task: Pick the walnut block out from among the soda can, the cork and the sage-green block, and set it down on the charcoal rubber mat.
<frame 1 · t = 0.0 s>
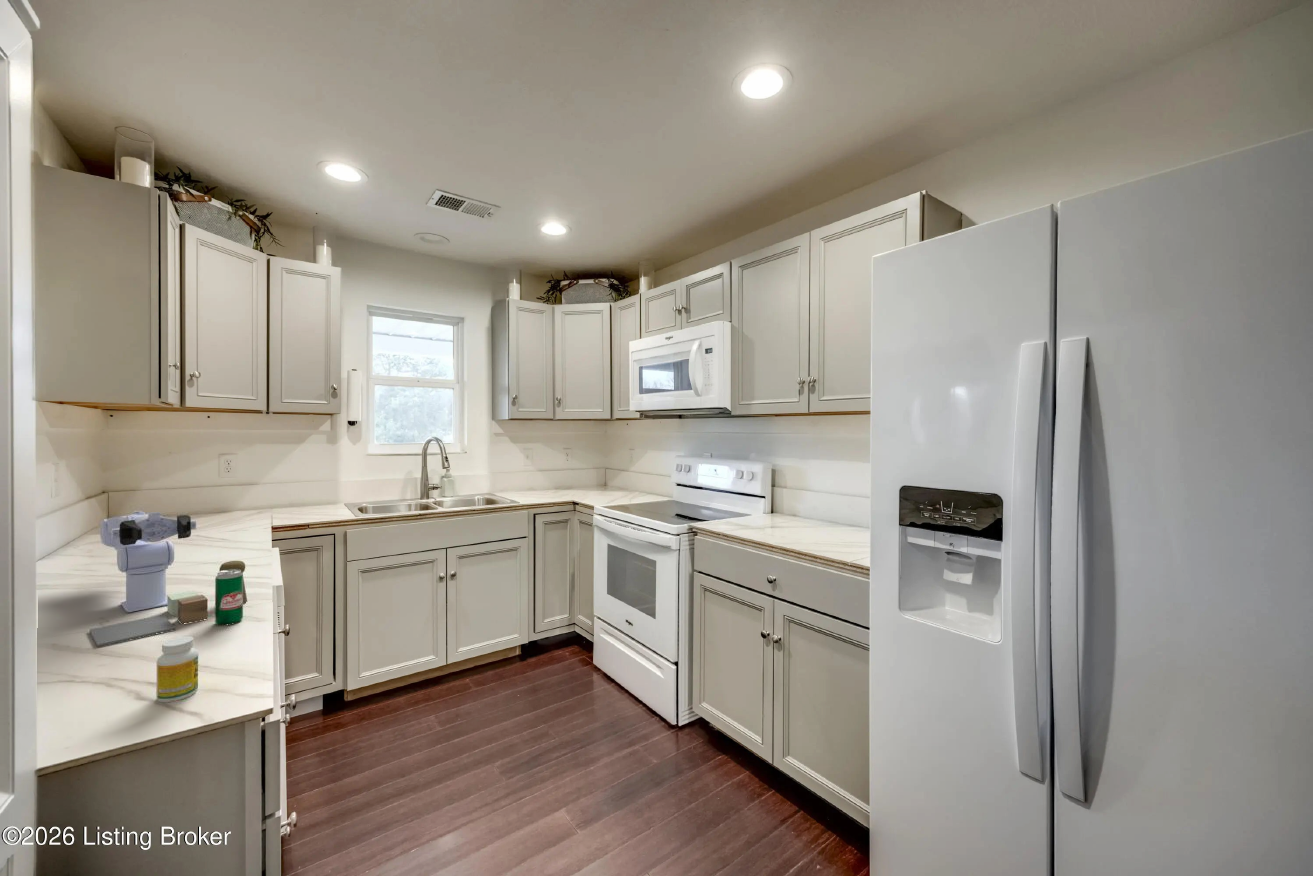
hand: (163, 531, 120), 22 cm above the counter, tool horizontal, fingers open, 7 cm apart
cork: (232, 604, 134), on the counter
walnut block: (192, 619, 124), on the counter
soda can: (229, 622, 123), on the counter
supplement bottle: (177, 696, 91), on the counter
sage block: (183, 611, 129), on the counter
mat: (132, 631, 116), on the counter
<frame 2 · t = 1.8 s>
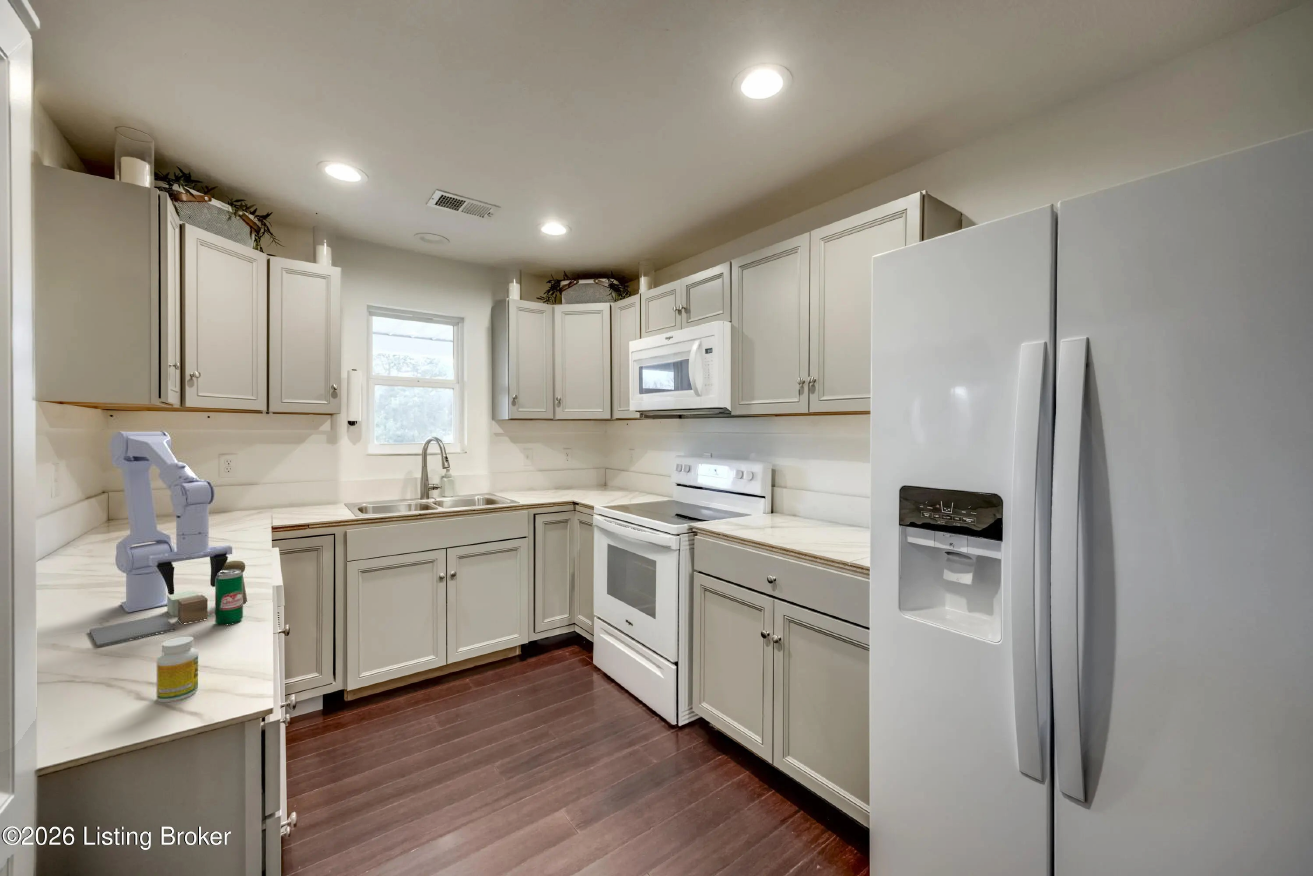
hand: (192, 589, 123), 7 cm above the counter, tool pointing down, fingers open, 7 cm apart
nothing on the counter moved.
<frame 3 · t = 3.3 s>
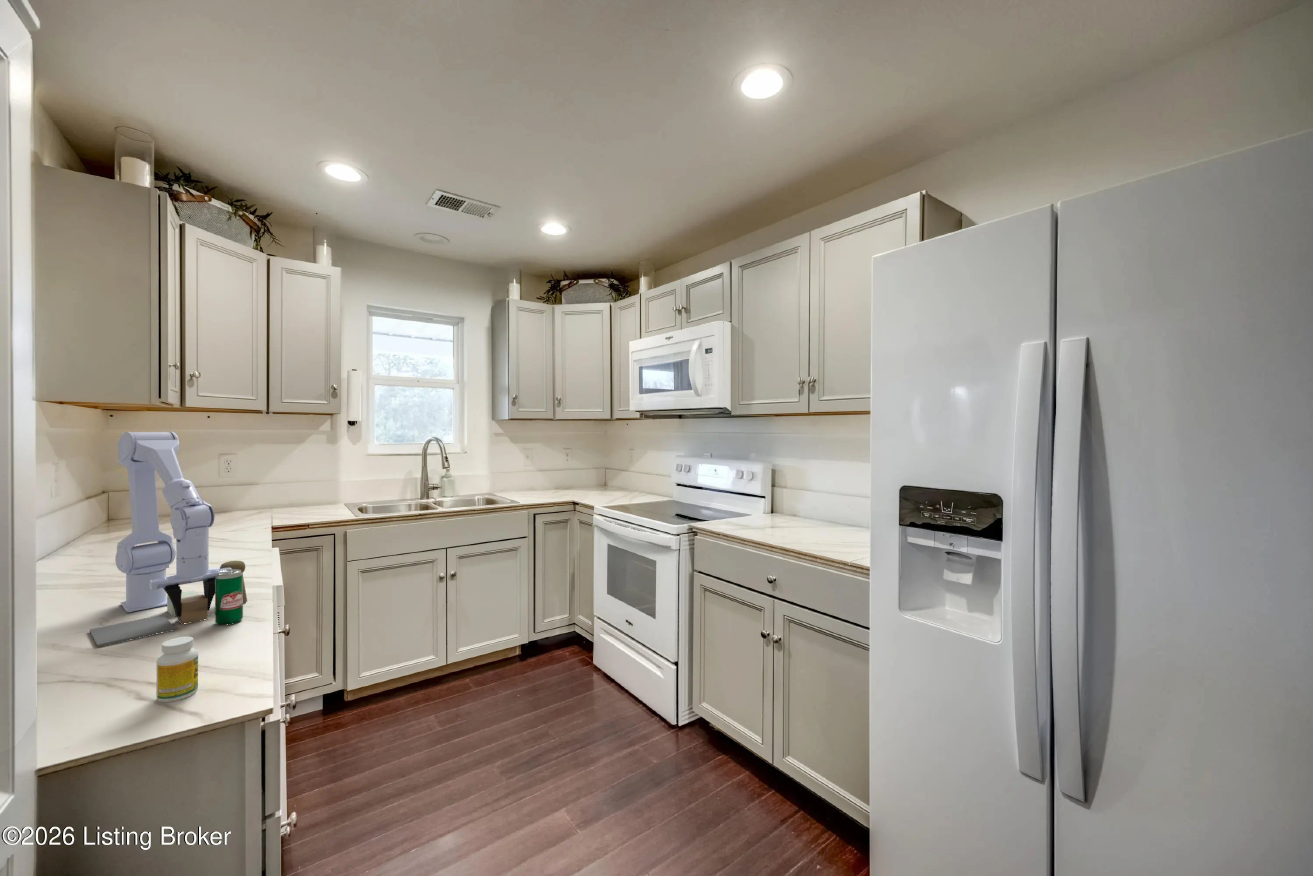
hand: (192, 612, 124), 2 cm above the counter, tool pointing down, fingers closed on walnut block, 4 cm apart
walnut block: (192, 619, 124), on the counter, touching gripper
everything else where it was.
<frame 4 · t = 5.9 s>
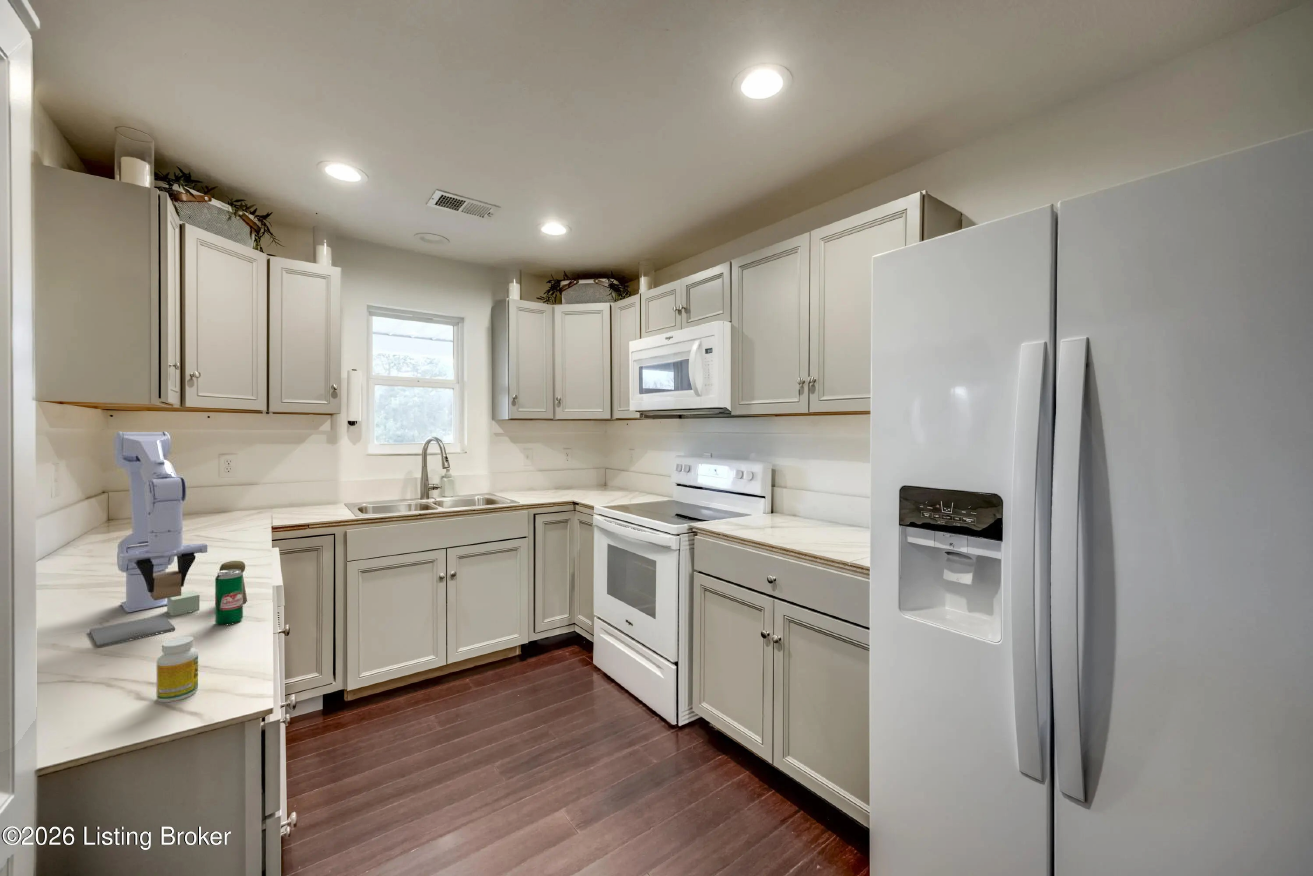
hand: (165, 588, 120), 8 cm above the counter, tool pointing down, fingers closed on walnut block, 4 cm apart
walnut block: (165, 595, 120), point 7 cm above the counter, touching gripper
everything else where it was.
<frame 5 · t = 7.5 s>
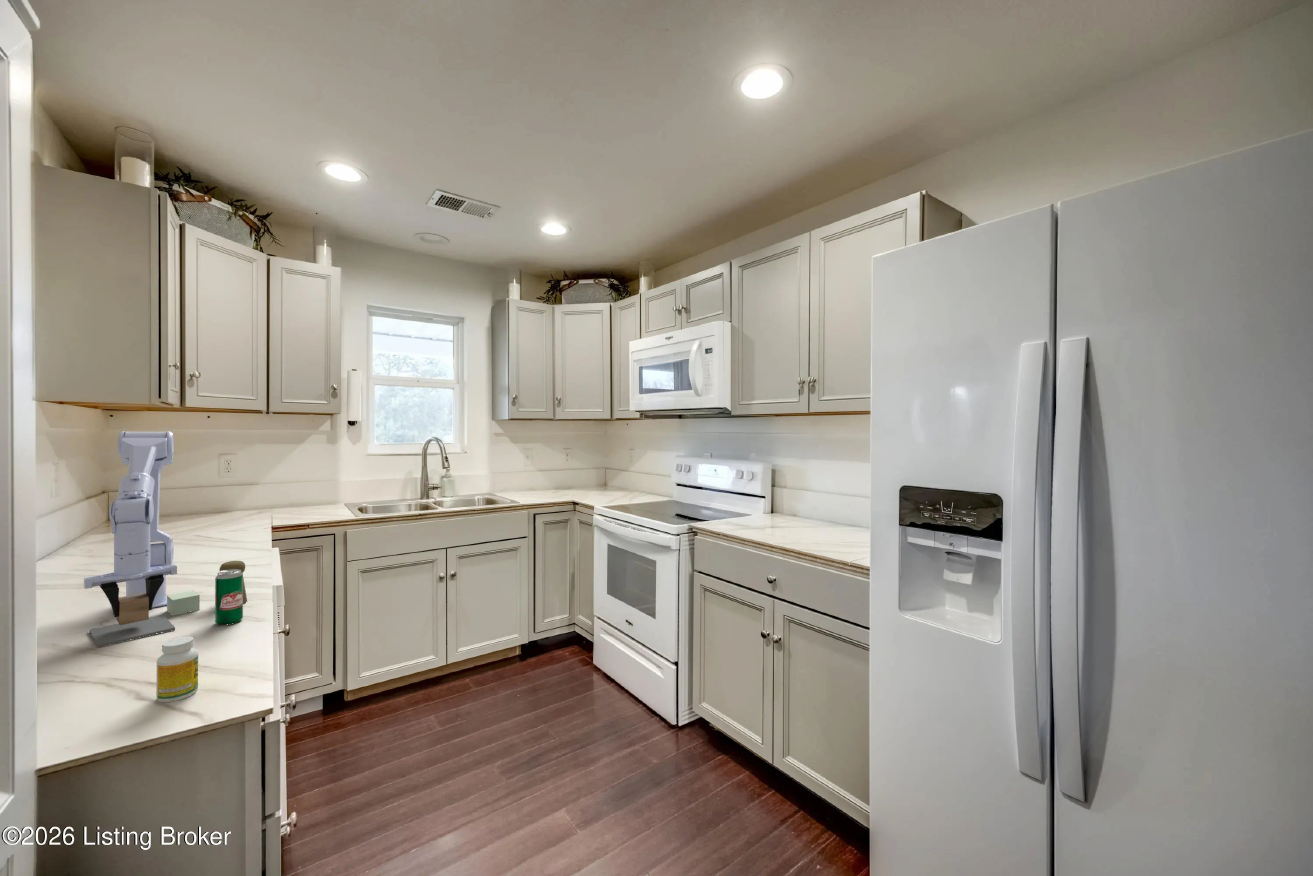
hand: (132, 612, 116), 4 cm above the counter, tool pointing down, fingers closed on walnut block, 4 cm apart
walnut block: (132, 619, 116), point 3 cm above the counter, touching gripper
everything else where it was.
when the fingers open (3 cm above the counter, at t = 8.7 s): walnut block stays where it is, resting on mat.
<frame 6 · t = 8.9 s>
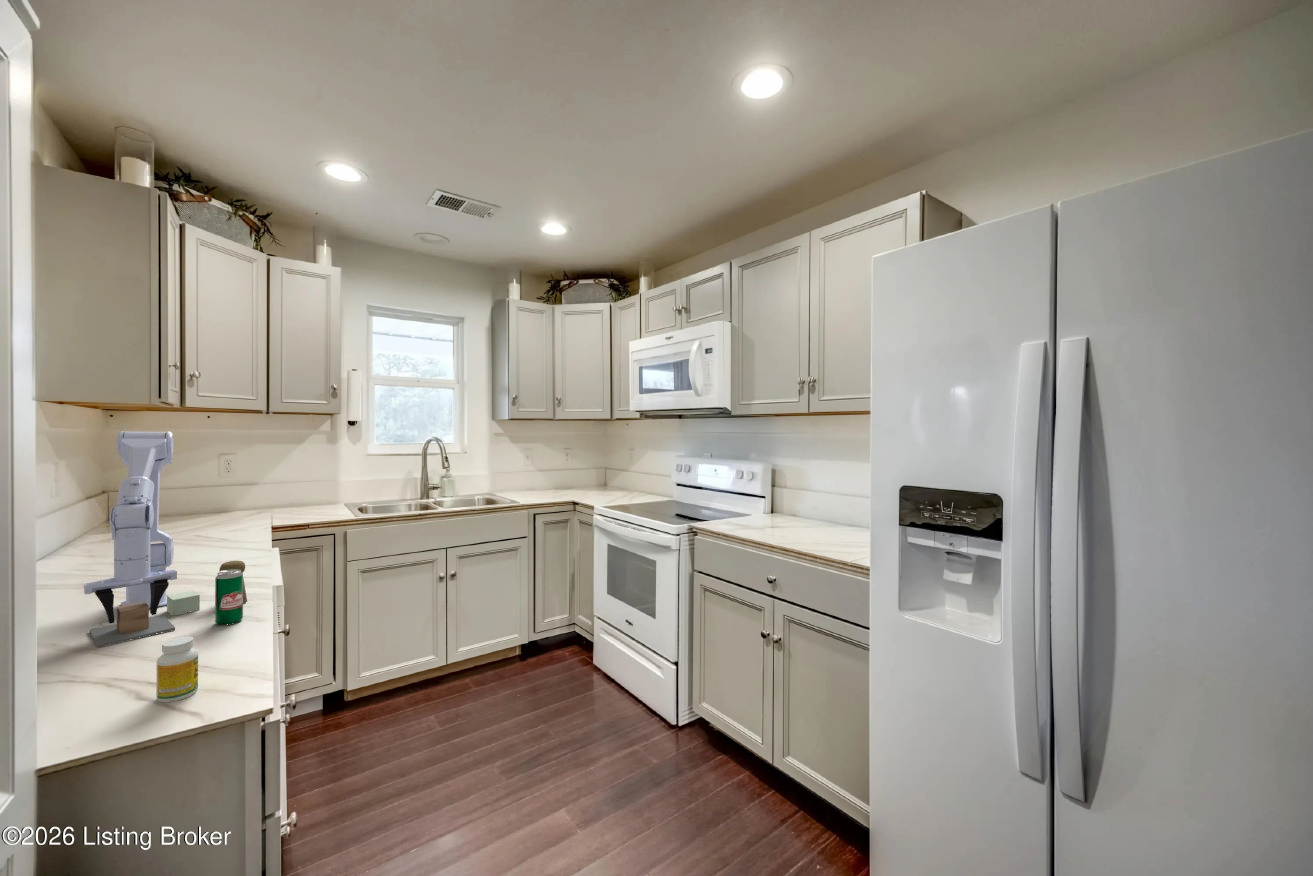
hand: (132, 617, 116), 3 cm above the counter, tool pointing down, fingers open, 6 cm apart
walnut block: (132, 628, 116), point 1 cm above the counter, touching mat
everything else where it was.
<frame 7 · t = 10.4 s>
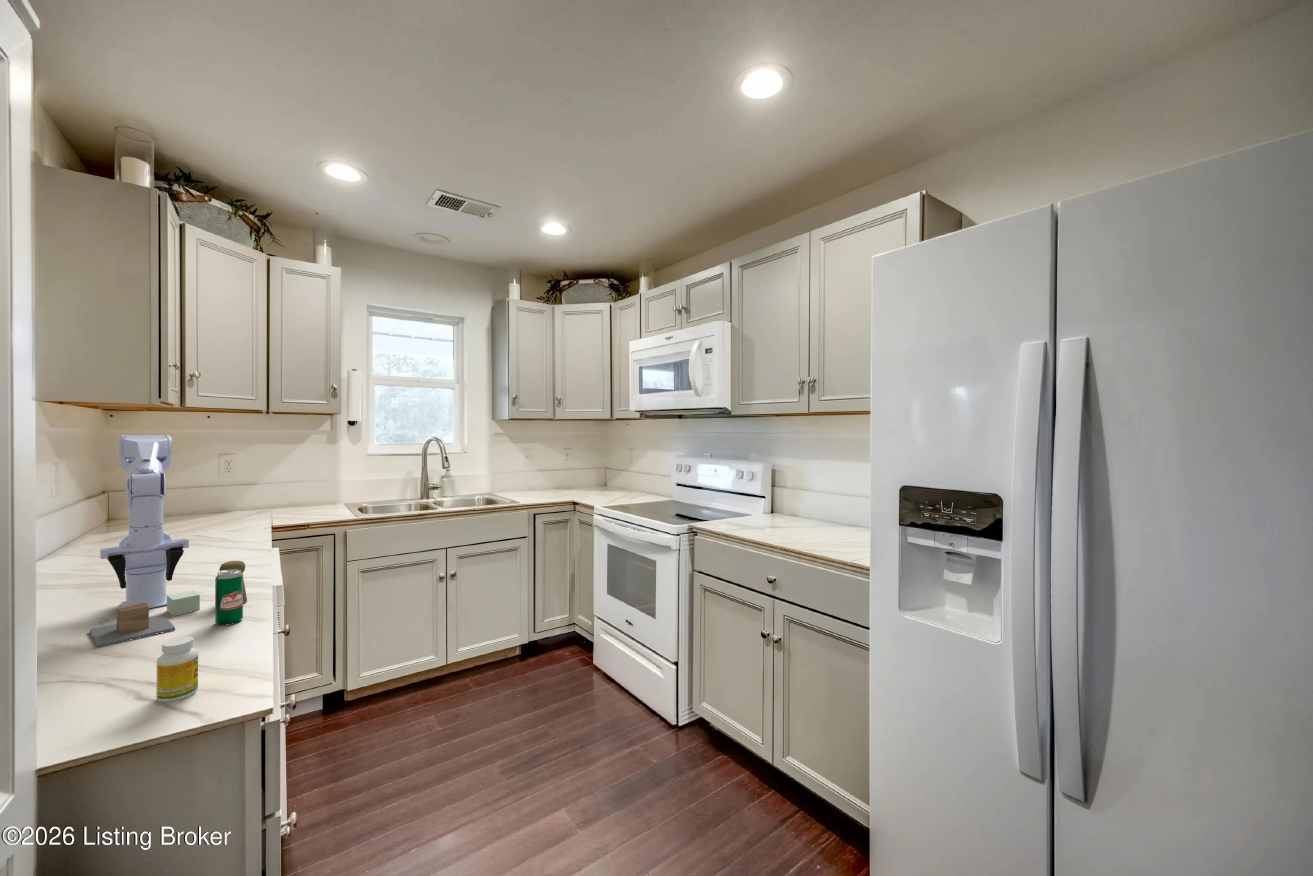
hand: (146, 583, 121), 9 cm above the counter, tool pointing down, fingers open, 7 cm apart
nothing on the counter moved.
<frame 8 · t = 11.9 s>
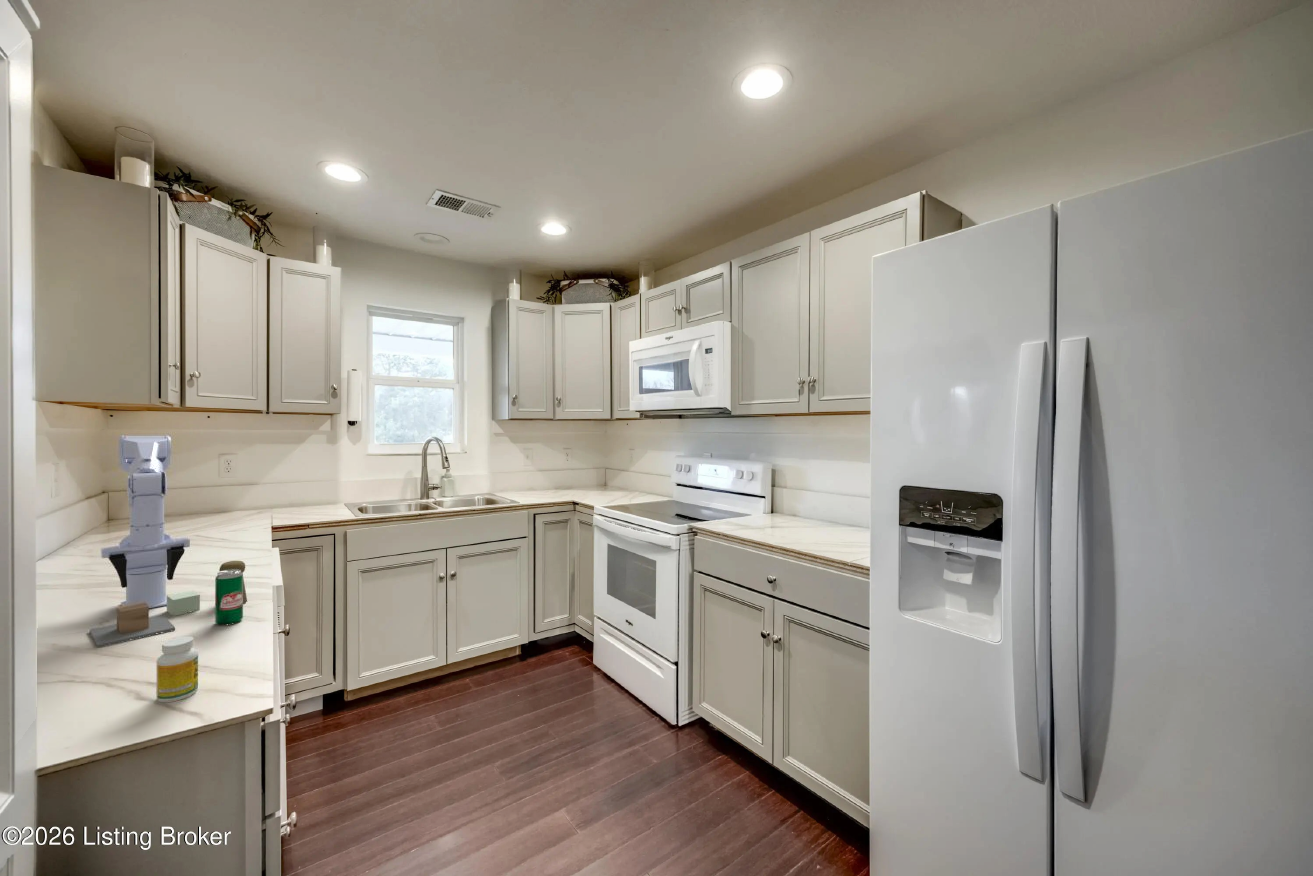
hand: (147, 582, 121), 9 cm above the counter, tool pointing down, fingers open, 7 cm apart
nothing on the counter moved.
at the end: walnut block inside the target area on the mat (0.0 cm from its centre), point 0.6 cm above the mat's base; walnut block tilted 0°; soda can moved 0.2 cm from its start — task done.
